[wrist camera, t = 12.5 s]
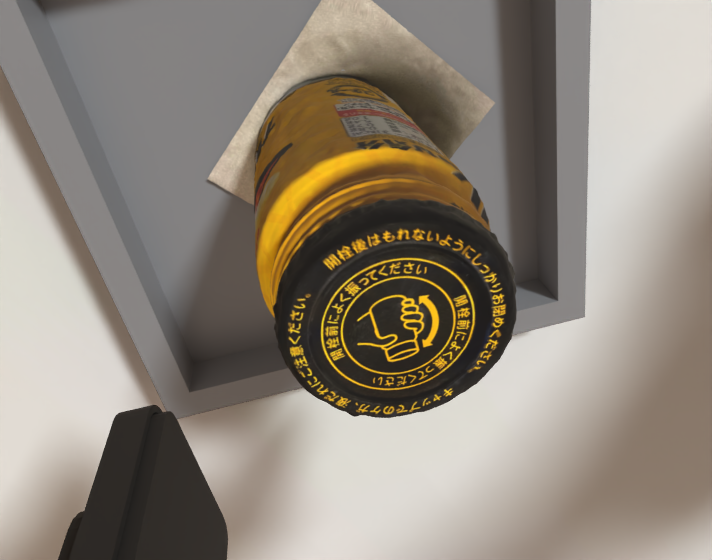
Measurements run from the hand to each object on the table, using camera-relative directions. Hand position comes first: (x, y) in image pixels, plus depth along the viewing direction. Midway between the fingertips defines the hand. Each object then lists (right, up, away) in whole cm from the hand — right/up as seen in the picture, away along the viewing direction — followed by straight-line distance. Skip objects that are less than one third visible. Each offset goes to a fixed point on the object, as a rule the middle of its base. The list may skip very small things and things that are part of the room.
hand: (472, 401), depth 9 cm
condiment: (-2, +7, +13) cm, 15 cm away
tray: (-3, +7, +13) cm, 15 cm away
